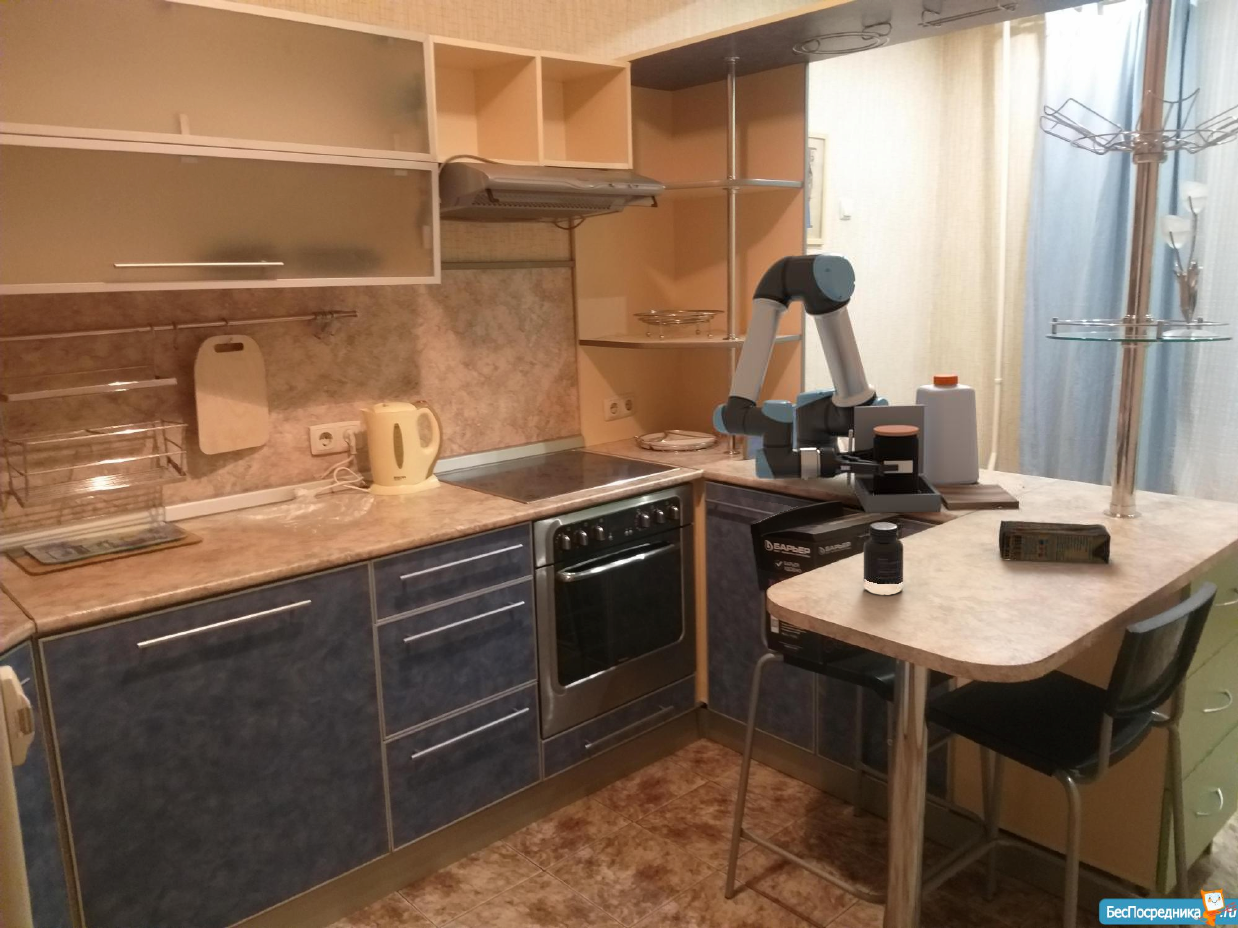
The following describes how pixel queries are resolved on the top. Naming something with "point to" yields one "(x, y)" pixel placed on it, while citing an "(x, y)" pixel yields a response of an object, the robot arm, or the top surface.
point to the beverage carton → (1054, 542)
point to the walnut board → (976, 496)
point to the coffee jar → (896, 458)
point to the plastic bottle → (949, 431)
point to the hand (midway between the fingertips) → (907, 460)
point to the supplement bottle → (883, 554)
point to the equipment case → (863, 440)
